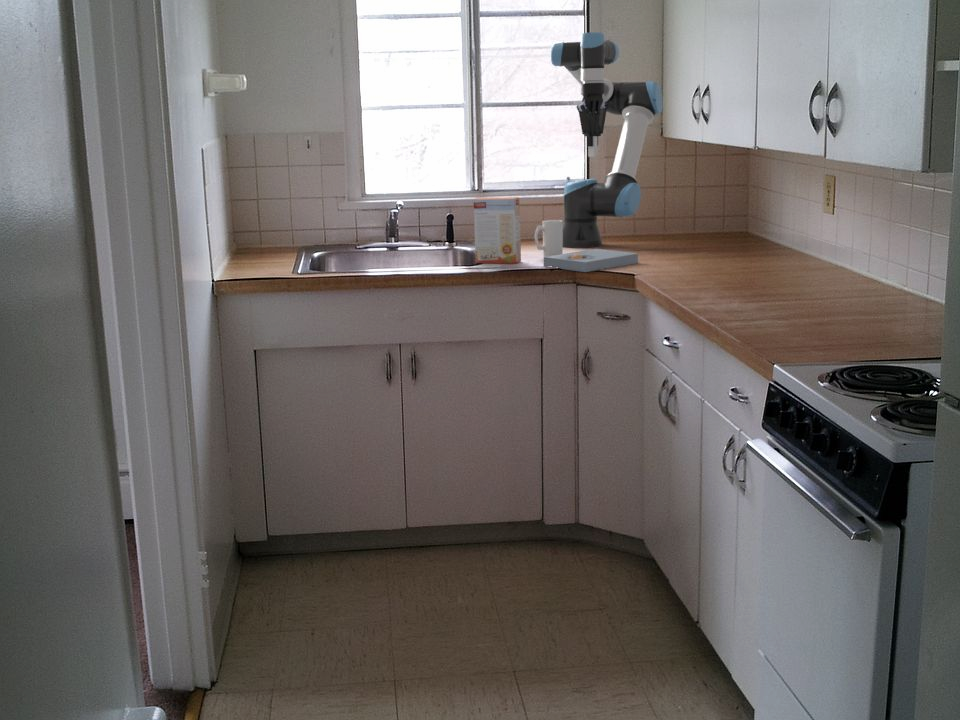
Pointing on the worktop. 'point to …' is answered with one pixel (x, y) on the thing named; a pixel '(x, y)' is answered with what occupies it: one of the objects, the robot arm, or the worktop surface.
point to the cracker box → (497, 230)
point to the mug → (550, 237)
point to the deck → (591, 260)
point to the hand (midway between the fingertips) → (592, 156)
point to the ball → (576, 256)
